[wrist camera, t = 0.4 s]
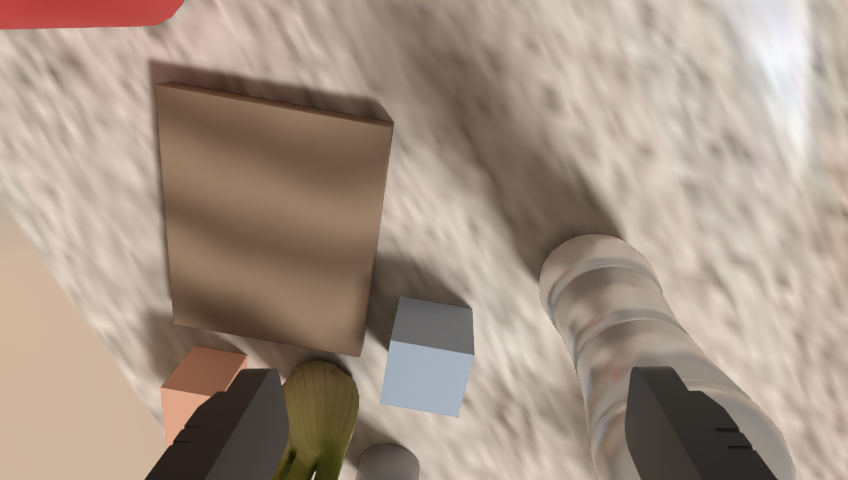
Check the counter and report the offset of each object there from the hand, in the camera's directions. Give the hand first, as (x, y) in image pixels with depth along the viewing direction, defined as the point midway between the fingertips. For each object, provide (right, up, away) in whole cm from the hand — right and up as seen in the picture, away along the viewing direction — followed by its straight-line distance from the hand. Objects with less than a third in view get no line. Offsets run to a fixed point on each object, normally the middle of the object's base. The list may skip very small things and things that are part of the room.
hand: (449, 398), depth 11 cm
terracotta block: (-16, -7, +26) cm, 31 cm away
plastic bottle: (+10, +2, +20) cm, 22 cm away
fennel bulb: (-8, -7, +25) cm, 27 cm away
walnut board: (-10, +4, +20) cm, 23 cm away
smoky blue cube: (0, -3, +22) cm, 23 cm away
